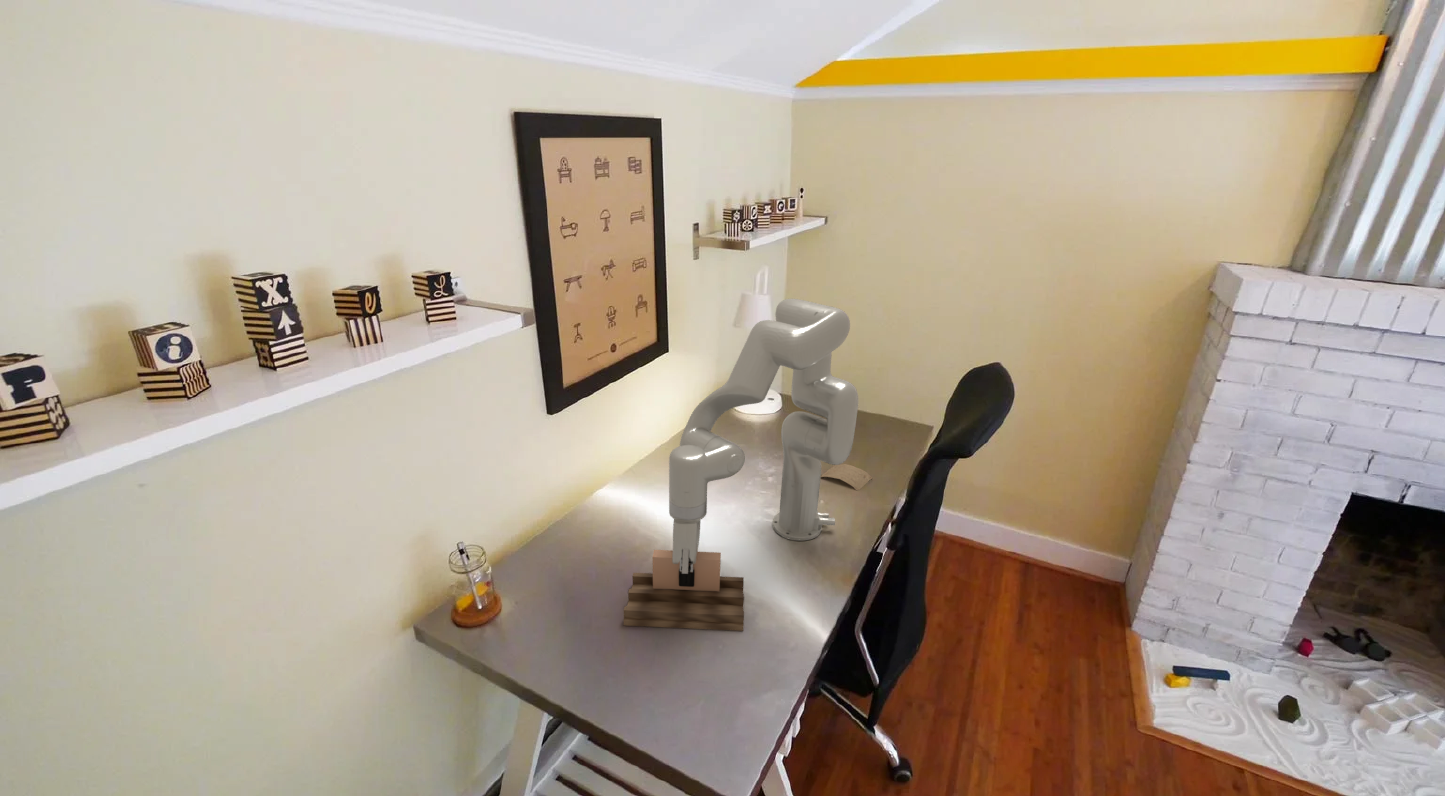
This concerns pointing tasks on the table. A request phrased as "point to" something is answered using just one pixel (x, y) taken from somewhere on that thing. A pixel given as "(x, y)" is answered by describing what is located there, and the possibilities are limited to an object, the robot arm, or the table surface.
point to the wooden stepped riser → (685, 605)
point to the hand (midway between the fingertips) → (687, 580)
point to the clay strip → (704, 569)
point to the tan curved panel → (848, 475)
